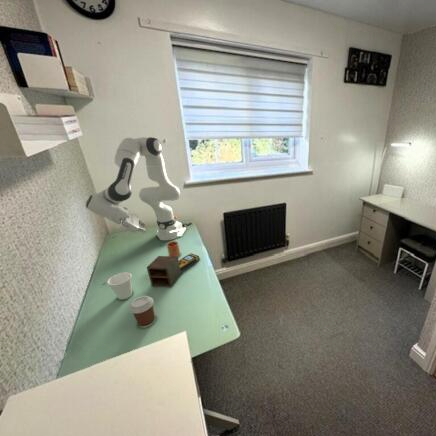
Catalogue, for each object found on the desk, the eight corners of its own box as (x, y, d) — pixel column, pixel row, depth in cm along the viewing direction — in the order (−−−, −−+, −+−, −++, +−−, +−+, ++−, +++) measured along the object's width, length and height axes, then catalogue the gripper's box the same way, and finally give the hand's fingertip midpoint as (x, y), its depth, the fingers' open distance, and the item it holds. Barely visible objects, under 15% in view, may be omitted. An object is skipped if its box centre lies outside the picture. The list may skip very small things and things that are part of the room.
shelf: (162, 273, 138) (158, 255, 133) (181, 274, 137) (177, 256, 132) (151, 285, 128) (146, 267, 123) (171, 286, 127) (166, 268, 122)
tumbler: (172, 253, 158) (170, 241, 154) (182, 253, 157) (179, 241, 154) (167, 258, 152) (164, 246, 148) (177, 258, 151) (174, 246, 148)
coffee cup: (147, 332, 100) (140, 311, 95) (130, 327, 103) (122, 306, 98) (163, 316, 108) (157, 296, 104) (147, 312, 111) (140, 292, 106)
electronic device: (169, 269, 141) (168, 265, 140) (190, 256, 154) (189, 252, 153) (179, 273, 138) (178, 268, 136) (200, 260, 151) (199, 255, 149)
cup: (141, 290, 124) (136, 272, 120) (127, 303, 115) (121, 285, 111) (123, 288, 125) (117, 271, 121) (108, 302, 116) (101, 284, 112)
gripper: (123, 218, 123) (149, 230, 131) (124, 206, 138) (147, 218, 147) (115, 227, 122) (142, 239, 131) (117, 214, 138) (141, 226, 147)
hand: (145, 228), depth 139 cm, fingers open, 8 cm apart
